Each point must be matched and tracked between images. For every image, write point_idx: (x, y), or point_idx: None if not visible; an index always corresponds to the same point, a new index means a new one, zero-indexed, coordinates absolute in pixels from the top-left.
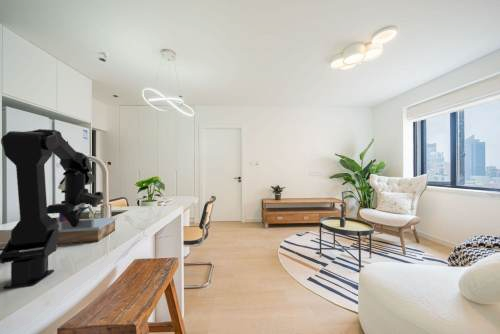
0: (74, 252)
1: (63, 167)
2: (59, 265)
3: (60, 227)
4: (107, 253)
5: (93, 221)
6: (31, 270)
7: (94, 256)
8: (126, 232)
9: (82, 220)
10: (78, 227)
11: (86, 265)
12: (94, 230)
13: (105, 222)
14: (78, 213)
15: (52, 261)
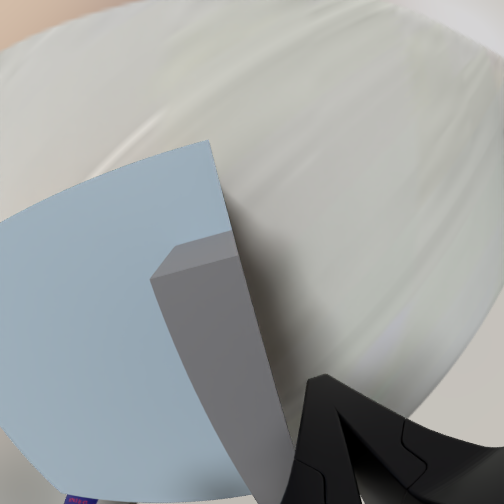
0: (385, 189)
1: None
2: (480, 145)
3: (242, 494)
4: (375, 2)
5: (177, 260)
6: None
7: (411, 43)
8: (23, 121)
9: (269, 400)
10: (271, 372)
11: (463, 41)
12: None
13: (22, 236)
14: (416, 493)
15: (460, 212)
